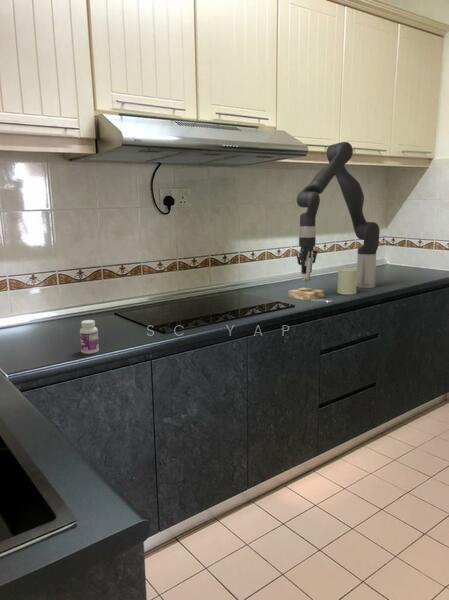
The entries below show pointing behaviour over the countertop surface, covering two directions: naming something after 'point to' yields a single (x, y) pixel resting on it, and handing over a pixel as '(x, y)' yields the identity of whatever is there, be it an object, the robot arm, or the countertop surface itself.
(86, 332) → the pill bottle
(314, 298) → the bar
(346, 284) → the can
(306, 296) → the socket block
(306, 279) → the pin
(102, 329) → the countertop surface
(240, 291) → the countertop surface
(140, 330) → the countertop surface
